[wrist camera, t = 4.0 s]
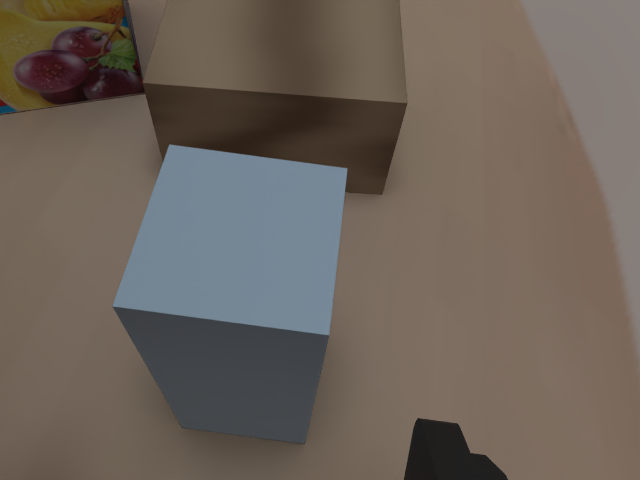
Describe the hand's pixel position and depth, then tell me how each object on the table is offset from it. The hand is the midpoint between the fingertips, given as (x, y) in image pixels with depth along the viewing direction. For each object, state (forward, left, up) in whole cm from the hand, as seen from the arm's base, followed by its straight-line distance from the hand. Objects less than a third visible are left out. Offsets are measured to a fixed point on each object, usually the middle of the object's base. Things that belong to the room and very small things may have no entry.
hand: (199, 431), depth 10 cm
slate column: (0, +4, -10) cm, 10 cm away
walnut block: (-1, +18, -10) cm, 21 cm away
